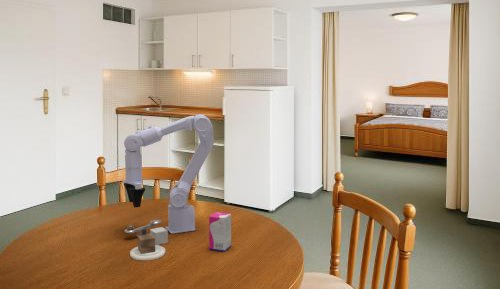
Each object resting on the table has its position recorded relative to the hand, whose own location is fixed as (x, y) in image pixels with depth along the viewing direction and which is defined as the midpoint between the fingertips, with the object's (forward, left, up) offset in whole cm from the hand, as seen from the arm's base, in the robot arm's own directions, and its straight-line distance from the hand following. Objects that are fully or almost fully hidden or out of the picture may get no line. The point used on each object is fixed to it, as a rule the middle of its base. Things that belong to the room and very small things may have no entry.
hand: (134, 204), depth 164 cm
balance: (-2, +6, -10) cm, 12 cm away
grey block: (-5, +14, -10) cm, 18 cm away
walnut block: (+1, +23, -9) cm, 25 cm away
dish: (+1, +23, -10) cm, 25 cm away
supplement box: (-22, +28, -11) cm, 37 cm away
